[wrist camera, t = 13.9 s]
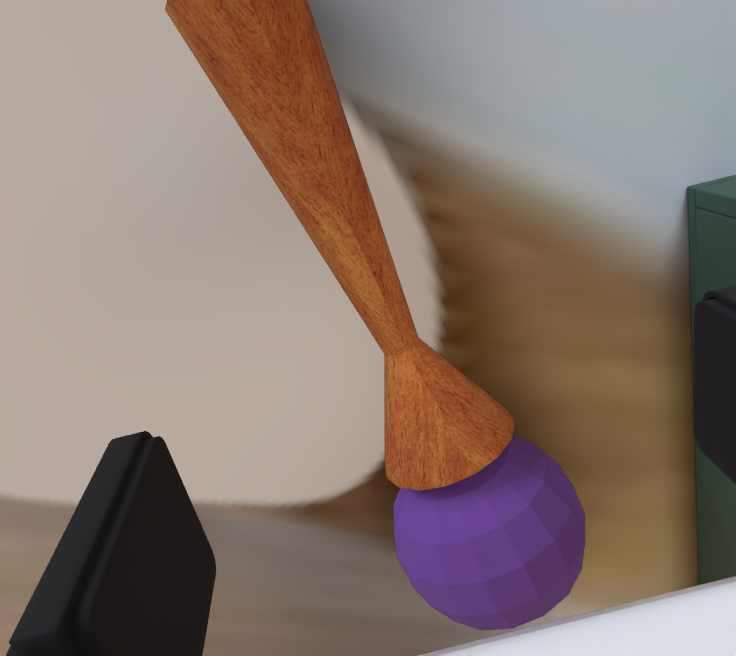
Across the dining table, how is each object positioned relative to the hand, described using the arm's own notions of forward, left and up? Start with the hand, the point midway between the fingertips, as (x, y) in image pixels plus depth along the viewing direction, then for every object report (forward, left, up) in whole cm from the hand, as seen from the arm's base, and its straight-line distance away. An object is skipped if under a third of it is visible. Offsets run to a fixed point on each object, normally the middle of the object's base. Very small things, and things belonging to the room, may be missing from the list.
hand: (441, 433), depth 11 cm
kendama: (+1, 0, -10) cm, 10 cm away
